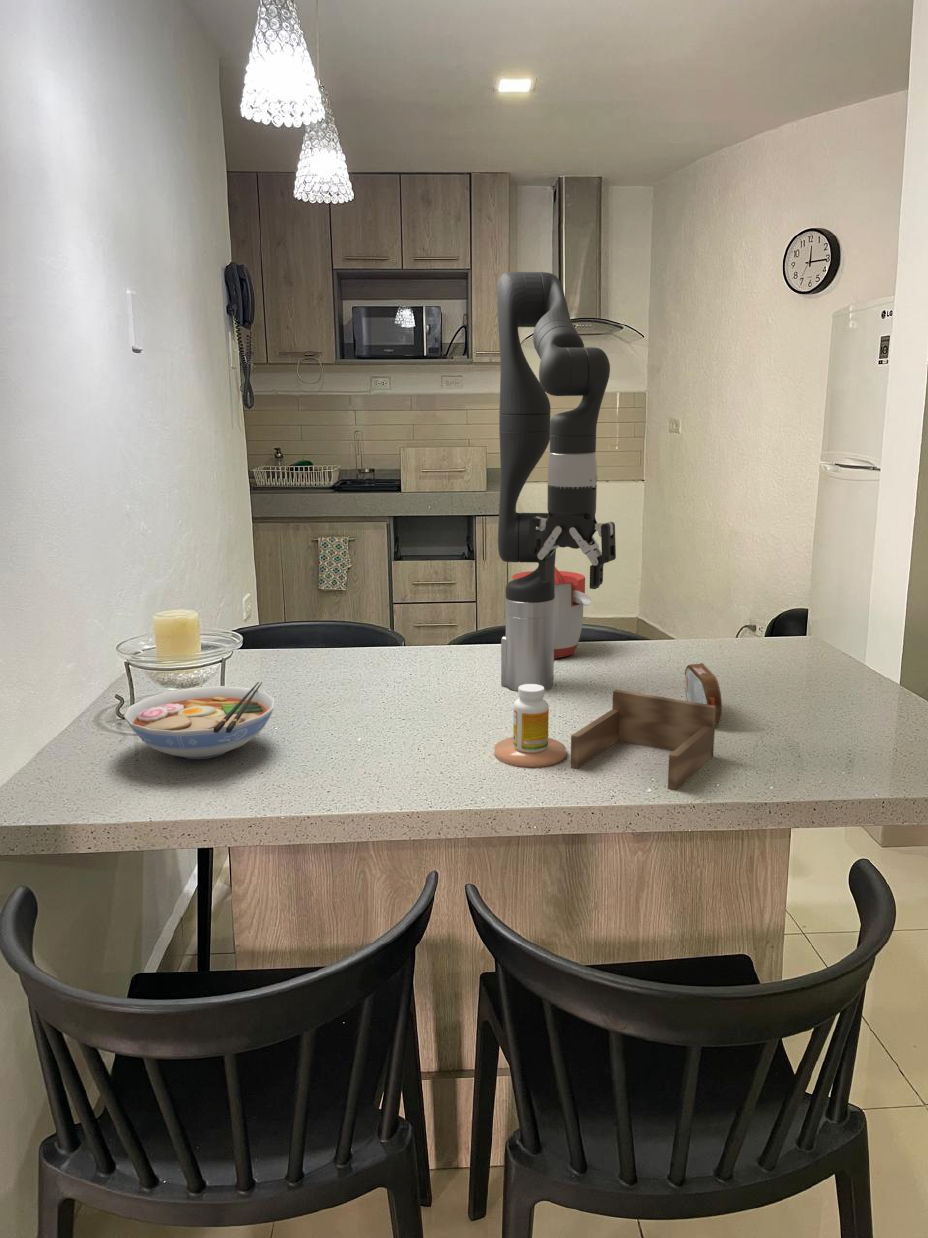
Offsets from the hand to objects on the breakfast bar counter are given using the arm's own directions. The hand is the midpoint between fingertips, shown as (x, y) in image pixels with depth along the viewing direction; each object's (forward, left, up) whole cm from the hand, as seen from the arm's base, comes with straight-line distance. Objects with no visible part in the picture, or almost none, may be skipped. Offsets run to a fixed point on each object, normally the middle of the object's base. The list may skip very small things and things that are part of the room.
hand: (570, 585), depth 150 cm
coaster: (-1, -11, -25) cm, 27 cm away
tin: (+15, +21, -25) cm, 36 cm away
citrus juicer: (-27, +45, -25) cm, 58 cm away
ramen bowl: (-45, -37, -25) cm, 63 cm away
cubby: (+15, -5, -25) cm, 30 cm away
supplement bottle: (-1, -11, -24) cm, 26 cm away
